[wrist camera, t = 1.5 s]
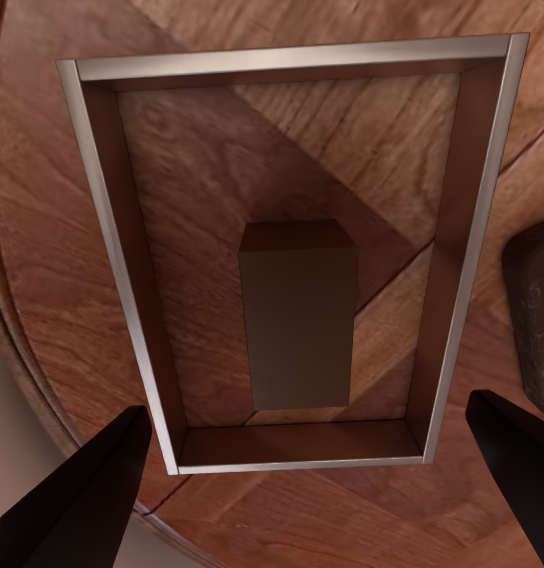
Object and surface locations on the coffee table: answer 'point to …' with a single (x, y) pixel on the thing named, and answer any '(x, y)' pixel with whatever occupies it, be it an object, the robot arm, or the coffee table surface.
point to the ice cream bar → (528, 306)
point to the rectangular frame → (445, 259)
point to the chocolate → (298, 312)
